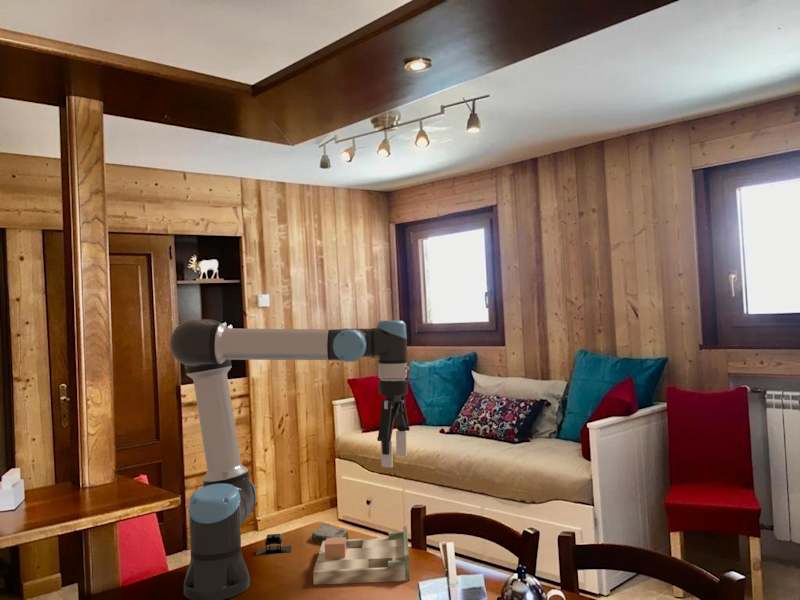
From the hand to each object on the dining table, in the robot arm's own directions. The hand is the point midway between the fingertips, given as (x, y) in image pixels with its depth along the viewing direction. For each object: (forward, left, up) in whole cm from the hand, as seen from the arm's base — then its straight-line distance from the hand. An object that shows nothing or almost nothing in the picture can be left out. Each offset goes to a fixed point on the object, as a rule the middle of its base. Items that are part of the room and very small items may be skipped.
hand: (394, 461), depth 170 cm
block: (-16, -2, -23) cm, 28 cm away
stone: (-19, +19, -26) cm, 38 cm away
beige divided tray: (-9, -2, -26) cm, 27 cm away
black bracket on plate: (-34, +12, -27) cm, 45 cm away
